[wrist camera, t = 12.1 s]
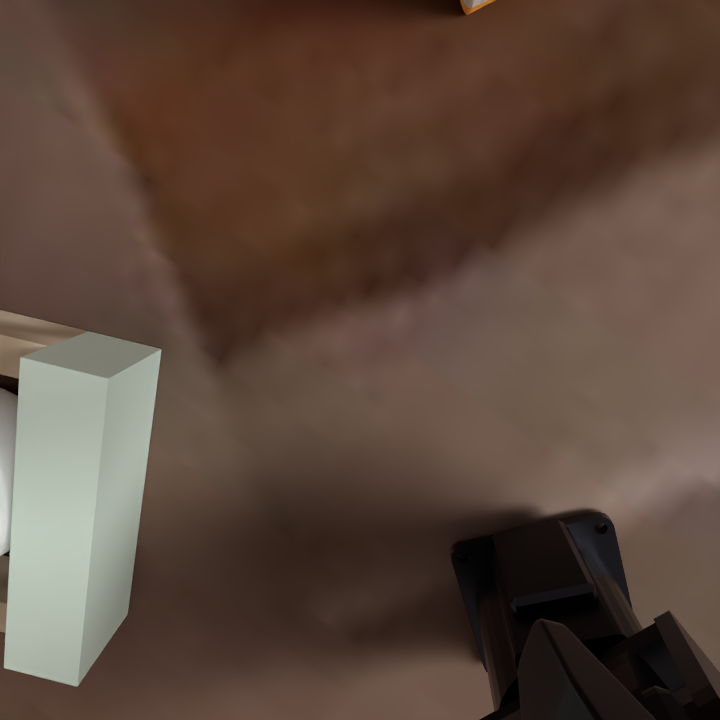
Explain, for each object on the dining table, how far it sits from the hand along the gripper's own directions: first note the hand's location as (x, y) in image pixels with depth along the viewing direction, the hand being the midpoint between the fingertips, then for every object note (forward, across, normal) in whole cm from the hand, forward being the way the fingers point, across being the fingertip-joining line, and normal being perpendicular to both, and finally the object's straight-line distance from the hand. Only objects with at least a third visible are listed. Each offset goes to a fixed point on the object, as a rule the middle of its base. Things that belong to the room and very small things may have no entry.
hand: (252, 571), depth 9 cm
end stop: (+13, +9, +8) cm, 17 cm away
